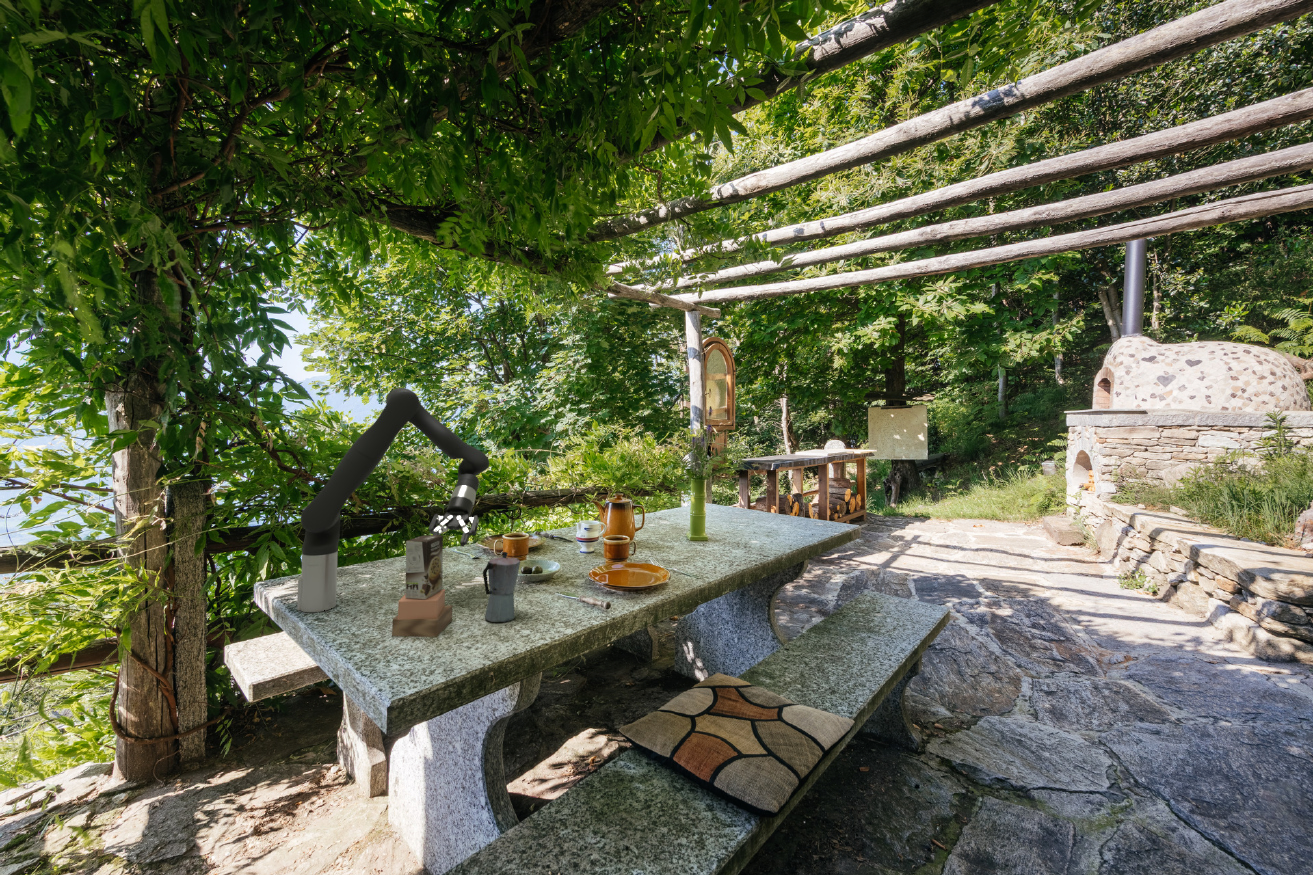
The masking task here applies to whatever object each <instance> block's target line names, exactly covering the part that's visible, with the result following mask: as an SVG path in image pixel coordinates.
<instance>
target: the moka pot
mask: <svg viewBox="0 0 1313 875" xmlns="http://www.w3.org/2000/svg"><path fill="white" fill-rule="evenodd" d="M501 554H502V557H497V558H491V559H490V560H488V561H487V564H486V566H485V568H484V569H483V571H482V577H483V582H484V589H485V594H486V595H489V596H488V601H487V605H486V610H485V615H484V619H485V620H486V621H488V622H491V623H504V622H509V621H512V620H514V619H515V616H516V615H515V614H516V613H515V597H514V592H515V587H516V585H517V581H518V575H519V570H520V565H521V560H519V558H516V557H508V552H506V551H503V552H502V553H501ZM487 573H488V575H487Z"/></svg>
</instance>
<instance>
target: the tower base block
mask: <svg viewBox="0 0 1313 875" xmlns="http://www.w3.org/2000/svg"><path fill="white" fill-rule="evenodd" d="M450 622H451V623H452V622H453V604H452V605H450V604H449V605H446V604H445V606H444V608H443V610H442V611H441V613H440V614H439V616H438V617H437V619H406V620H398V614H397V615H396V616H395V617H394V618H392V625H391V626H392V630H391V632H392V633H391V637H411V638H412V637H418V638H422V637H424V638H427V637H428V638H438V636H440V634H441V633H442V632H443V631H444V630H445V629H446V628H447V627H448V626H449V625H450V624H451V623H450ZM449 623H450V624H449ZM448 624H449V625H448Z"/></svg>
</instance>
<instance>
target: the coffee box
mask: <svg viewBox="0 0 1313 875" xmlns="http://www.w3.org/2000/svg"><path fill="white" fill-rule="evenodd" d="M443 536H444V535H441V534H440V535H433V534H431V535H426V534H424V535H420V536H417V537H414V538H411V539H409V540H406V541H405V589H404V590H405V591H404V592H405V593H404V595H405V598H412V599H427V598H429V597H431V596H432V595H434V594H436V593H438V592H439V591H441V590H443V582H444V580H443V575H444V574H443V572H444V571H443V564H444V561H443V558H444V557H443V556H444V555H443V554H444V553H443V550H444V548H443V547H444V546H443V540H444V539H443V538H444V537H443Z"/></svg>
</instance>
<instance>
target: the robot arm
mask: <svg viewBox="0 0 1313 875" xmlns="http://www.w3.org/2000/svg"><path fill="white" fill-rule="evenodd" d="M385 400H386V404H385V406H384V408H383V409H382V411H381V413H380V415H379V416H378V418H377V419H376V420H375V421H374V422H373V424H371V426H369V428H367V430H365V431H364V432H363V433H362V434H361V435H360V436H359V437H358V438H357V439H356V440H355V442H354V443H353V444H352V445H351V446H350V448H349V449H348V450H347V451H346V453H345V454H344V456H343V457H342V458H341V460H340V462H339V463H338V465H337V466H336V468H335V470H334V471H333V473H332V475H331V476H330V478H329V479H328V481H327V483H326V484H325V486H323V488H322V489H320V491H319V493H318V494H317V495H316V496H315V497H314V498H313V499H312V501H310V502H309V503H308V504H307V506H305V508H303V510H302V512H301V514H300V523H301V526H302V527H303V529H305V533H304V540H303V544H302V549H301V577H299V578H298V580H297V599H296V600H297V603H296V604H297V605H296V607H297V608H296V610H297V611H301V612H304V613H319V612H325V611H328V610H331V608H332V609H333V608H335V607H337V588H338V587H337V581H338V552H339V551H338V549H339V547H338V546H339V542H340V535H341V533H340V532H341V510H342V508H343V507H344V506H345V504H346V502H347V501H348V499H349V498H350V497H351V495H352V494H353V493H354V492H355V491H356V490H358V488H360V487H361V485H362V484H363V483H364V482H365V481H366V480H367V479H368V478H369V477H370V475H371V474H372V473H373V471H374V470H375V469H376V468H377V466H378V464H379V463H380V462H381V460H382V459H383V457H384V456H385V455H386V453H387V451H388V449H389V448H390V446H391V445H392V444H393V441H394V440H395V438H396V437H397V436H398V434H399V433H400V431H401V430H402V429H403V428H404V427H405V425H407V423H408V422H409V423H410V424H412V425H413V426H414V427H415V428H416V429H417V430H419V431H420V432H421V433H422V434H424V436H426V438H428V439H429V441H430V442H432V444H433V445H435V446H436V447H437V448H438V449H439V450H440V451H441V452H443V453H444V454H445V455H446V456H447V457H449V458H450V459H451V460H459V459H460V460H461V459H462V460H461V461H460V463H459V465H458V469H457V482H456V483H455V487H454V489H453V492H452V493H451V496H450V500H449V502H448V504H447V508H446V511H445V514H444V515H439V514H437V513H435V514H434V515H433V518H432V520H431V522H430V524H429V526H428V530H429V533H430V534H431V535H441V534H443V533H445V532H446V531H448V530H449V531H454V530H455V531H459V530H462V532H463V533H462V535H461V539H460V542H459V543H460V547H465V546H466V545H467V544H468V540H469V537H470V536H476V535H477V531H478V527H479V522H480V521H479V517H478V515H473V517H472V516H471V514H472V512H473V508H474V505H475V502H476V498H477V497H476V496H477V492H478V489H479V486H480V480H479V478H478V476H477V475H479V474H482V473H483V472H485V471H486V470H488V469H489V466H490V460H489V458H488V456H487V455H486V454H485V453H484V452H483V451H481V450H479V449H477V448H476V447H474V446H472V445H469V444H468V443H466V442H464V441H463V440H462V439H461V438H460V437H459V436H458V435H457V434H455V433H454V431H452V430H450V428H448V427H447V426H445V425H444V423H442V422H440V421H439V420H438V419H437V418H435V417H434V416H433V415H432V414H431V413H430V412H429V411H428V410H427V409H426V408H425V407H424V406H423V405H422V404H421V402H420V398H419V396H418V395H417V394H416V393H415V392H414V391H412V390H411V389H408V388H405V387H397V388H395V389H392V390H391V391H389V393H388V394H387V395H386V399H385ZM469 523H471V527H470V529H468V527H467V526H466V525H467V524H469ZM324 610H325V611H324Z"/></svg>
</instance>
